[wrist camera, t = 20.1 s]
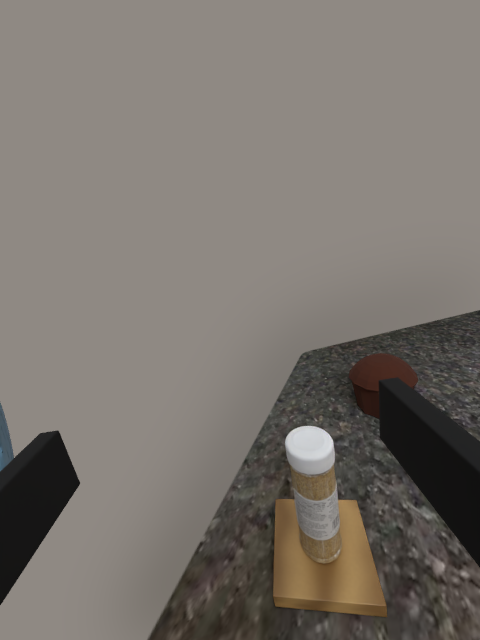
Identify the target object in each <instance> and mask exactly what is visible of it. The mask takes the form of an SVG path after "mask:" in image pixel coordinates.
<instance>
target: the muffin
mask: <svg viewBox="0 0 480 640" xmlns="http://www.w3.org/2000/svg"><path fill="white" fill-rule="evenodd" d="M396 377H398V378H399V379H401V380H402V381H403V382H405V383H406V384H407V385H408V386H410V387H411V388H412V389H413V390H414V386H415V385H416V384H417V382H418V378H417V374H416V373H415V372H414V370H413V369H412V368H411V367H410V366H409V365H408V364H407V363H406V362H405V361H403V360H402V359H400V358H398V357H396V356H393V355H389V354H382V353H380V354H373V355H369V356H367V357H364V358H362V359H361V360H360V361H358V362H357V363H356V364H355V365H354V366H353V368H352V369H351V370H350V373H349V378H350V379H351V380H352V384H353V388H354V392H355V396H356V400H357V404H358V406H359V407H360V408H361V409H362V410H363V411H364V413H365V414H368V415H371V416H374V417H376V418H378V419H380V416H379V380H383V379H390V378H396Z"/></svg>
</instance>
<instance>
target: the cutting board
mask: <svg viewBox="0 0 480 640" xmlns="http://www.w3.org/2000/svg"><path fill="white" fill-rule="evenodd" d="M338 507H339V518H340V526H339V527H340V535H341V538H342V549H341V553H340V555H339V556H338V558H337V559H336V560H334V561H333V562H329V563H324V564H323V563H319V562H316V561H314V560H312V559H311V558H310V557H309V556H307V555H306V553H305V552H304V550H303V548H302V546H301V543H300V538H299V534H300V531H299V525H298V521H297V515H296V508H295V502H294V499H276V505H275V542H274V578H273V598H274V603H275V606H276V607H286V608H296V609H307V610H317V611H328V612H339V613H349V614H360V615H370V616H381V617H387V608H386V602H385V599H384V595H383V592H382V588H381V585H380V581H379V578H378V574H377V571H376V567H375V564H374V560H373V557H372V553H371V550H370V546H369V543H368V539H367V536H366V532H365V529H364V525H363V522H362V518H361V515H360V511H359V508H358V504H357V501H356V500H338Z"/></svg>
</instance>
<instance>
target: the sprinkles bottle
mask: <svg viewBox="0 0 480 640" xmlns="http://www.w3.org/2000/svg"><path fill="white" fill-rule="evenodd" d="M285 447H286V454H287V459H288V462H289V464H290V469H291V476H292V484H293V491H294V502H295V508H296V515H297V521H298V525H299V531H300V534H299V538H300V543H301V546H302V548H303V550H304V552H305V553H306V555H307V556H309V557H310V558H311V559H312V560H314V561H316V562H319V563H323V564H324V563H329V562H333V561H334V560H336V559H337V558H338V556H339V555H340V553H341V549H342V538H341V535H340V527H339V526H340V518H339V507H338V495H337V485H336V479H335V472H334V461H335V451H334V444H333V440H332V438H331V436H330V435H329V434H328V433H327V432H326V431H324V430H323V429H320V428H318V427H314V426H302V427H299V428H296V429H294V430H292V431H291V432H290V433H289V434H288V436H287V437H286V441H285Z"/></svg>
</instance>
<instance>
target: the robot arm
mask: <svg viewBox="0 0 480 640" xmlns="http://www.w3.org/2000/svg"><path fill="white" fill-rule="evenodd" d="M379 416H380V438H381V440H382V441H383V442H384V444H385V445H386V446H387V448H388V449H389V450H390V451H391V453H392V454H393V455H394V457H395V458H396V459H397V461H398V462H399V463H400V464H401V466H402V467H403V468H404V470H405V471H406V472H407V473H408V475H409V476H410V477H411V479H412V480H413V481H414V483H415V484H416V485H417V486H418V488H419V489H420V490H421V492H422V493H423V494H424V496H425V497H426V498H427V499H428V501H429V502H430V503H431V505H432V506H433V507H434V508H435V510H436V511H437V512H438V514H439V515H440V516H441V518H442V519H443V520H444V521H445V523H446V524H447V525H448V527H449V528H450V529H451V531H452V532H453V533H454V534H455V536H456V537H457V538H458V540H459V541H460V542H461V543H462V545H463V546H464V547H465V549H466V550H467V551H468V553H469V554H470V555H471V556H472V558H473V559H474V560H475V562H476V563H477V564H478V566H479V567H480V441H478V440H477V439H476V438H475V437H473V436H472V435H471V434H470V433H468V432H467V431H466V430H464V429H463V428H462V427H461V426H459V425H458V424H457V423H456V422H454V421H453V420H452V419H450V418H449V417H448V416H447V415H445V414H444V413H443V412H441V411H440V410H439V409H438V408H436V407H435V406H434V405H433V404H431V403H430V402H429V401H427V400H426V399H425V398H424V397H422V396H421V395H420V394H419V393H417V392H416V391H415V390H413V389H412V388H411V387H410V386H408V385H407V384H406V383H405V382H403V381H402V380H401V379H399V378H398V377H396V378H390V379H383V380H379ZM79 484H80V482H79V480H78V477H77V475H76V472H75V470H74V467H73V465H72V462H71V460H70V457H69V455H68V453H67V450H66V448H65V445H64V443H63V440H62V438H61V435H60V433H59V431H52V432H46V433H40V434H39V435H38V436H37V437H36V438H35V439H34V440H33V441H32V442H31V443H30V444H29V445H28V446H27V447H25V448H24V449H23V450H22V451H21V452H20V453H19V454H18V455H17V456H16V457H15V458H14V455H13V449H12V444H11V439H10V435H9V430H8V426H7V423H6V419H5V415H4V412H3V409H2V406H1V403H0V605H1V603H2V602H3V600H4V599H5V597H6V596H7V594H8V593H9V591H10V590H11V588H12V587H13V585H14V584H15V582H16V580H17V579H18V577H19V576H20V574H21V573H22V571H23V570H24V568H25V567H26V565H27V564H28V562H29V561H30V559H31V558H32V556H33V555H34V553H35V552H36V550H37V549H38V547H39V545H40V544H41V542H42V541H43V539H44V538H45V536H46V535H47V533H48V532H49V530H50V529H51V527H52V526H53V524H54V523H55V521H56V519H57V518H58V517H59V515H60V514H61V512H62V510H63V509H64V507H65V506H66V504H67V503H68V501H69V499H70V498H71V497H72V495H73V494H74V492H75V491H76V489H77V488H78V486H79Z"/></svg>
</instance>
